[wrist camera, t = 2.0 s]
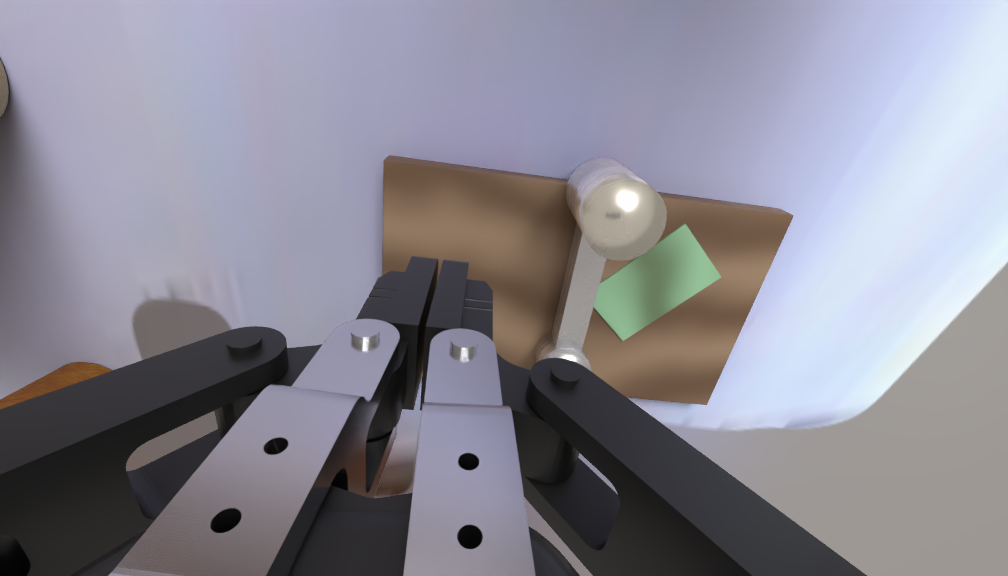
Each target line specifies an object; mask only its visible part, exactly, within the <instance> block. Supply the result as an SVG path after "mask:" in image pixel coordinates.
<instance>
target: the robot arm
mask: <svg viewBox="0 0 1008 576" xmlns="http://www.w3.org/2000/svg"><path fill="white" fill-rule="evenodd" d="M438 265H439V260H438V259H434V258H426V257H417V256H412V257H411V259H410V261H409V264H408V266H407V268H406V271H405V272H399V271H389V272H388V273H386V274H384V275H383V276H381V277H379V278H378V280H377V282H376V284H375V285H374V287H373V290H372V291H371V293H370V295H369V298H367V300H366V302H365V304H364V305H363V307H362V309H361V311H360V313H359V315H358V316H357V318H356V320H353V321H349V322H346V323H344V324H342V325H340V326H338V327H337V328H335V329H334V330H333V331H332V333H331V334H330V335H329V337H328V338H327V339H326V341H325V342H324V343H323V344H321V345H316V346H307V347H296V348H287V344H286V338H285V336H284V335H283V334H282V333H281V332H279V331H277V330H275V329H272V328H267V327H243V328H238V329H233V330H230V331H227V332H224V333H221V334H218V335H215V336H212V337H209V338H207V339H203V340H201V341H198V342H195V343H192V344H189V345H186V346H183V347H180V348H178V349H174V350H171V351H169V352H166V353H163V354H160V355H157V356H154V357H151V358H148V359H145V360H142V361H139V362H137V363H134V364H131V365H128V366H125V367H122V368H119V369H116V370H113V371H110V372H107V373H104V374H102V375H99V376H96V377H93V378H90V379H87V380H84V381H81V382H78V383H75V384H72V385H70V386H67V387H64V388H61V389H58V390H55V391H52V392H49V393H46V394H43V395H40V396H38V397H35V398H32V399H29V400H26V401H23V402H20V403H17V404H14V405H11V406H8V407H6V408H3V409H0V576H579V574H578V573H577V572H576V571H575V569H574V568H573V567H572V566H571V564H570V563H569V562H568V561H567V559H565V557H564V556H563V555H562V554H561V552H560V551H559V550H557V548H555V547H554V546H553V545H552V544H551V543H550V542H549V541H548V540H547V539H546V538H544V537H543V536H542V535H541V534H539V533H538V532H537V531H535V530H534V529H532V528H530V527H529V526H528V520H527V513H526V506H525V500H524V497H525V498H526V499H527V500H528V501H529V503H530V504H531V505H532V506H533V507H534V508H535V509H536V511H537V512H538V513H539V514H540V515H541V516H542V518H543V519H544V520H545V521H546V522H547V523H548V524H549V526H550V527H551V528H552V529H553V530H554V531H555V533H556V534H557V535H558V536H559V537H560V538H561V539H562V541H563V542H564V543H565V544H566V545H567V546H568V547H569V549H570V550H571V551H572V552H573V553H574V554H575V555H576V557H577V558H578V559H579V560H580V561H581V562H582V563H583V565H584V566H585V567H586V568H587V569H588V570H589V571H590V573H591V574H592V575H593V576H867V575H865V574H864V573H862V572H861V571H860V570H859V569H857V568H856V567H855V566H853V565H852V564H850V563H849V562H848V561H846V560H845V559H844V558H842V557H841V556H840V555H838V554H837V553H836V552H834V551H833V550H832V549H830V548H829V547H827V546H826V545H825V544H823V543H822V542H821V541H819V540H818V539H817V538H815V537H814V536H813V535H811V534H810V533H809V532H807V531H806V530H805V529H803V528H802V527H800V526H799V525H798V524H796V523H795V522H794V521H792V520H791V519H790V518H788V517H787V516H786V515H784V514H783V513H782V512H780V511H779V510H778V509H776V508H775V507H774V506H772V505H771V504H769V503H768V502H767V501H765V500H764V499H762V498H761V497H760V496H759V495H757V494H756V493H755V492H753V491H752V490H750V489H749V488H748V487H746V486H745V485H744V484H742V483H741V482H740V481H738V480H737V479H736V478H734V477H733V476H732V475H730V474H729V473H728V472H726V471H725V470H724V469H722V468H721V467H719V466H718V465H717V464H715V463H714V462H713V461H711V460H710V459H709V458H707V457H706V456H705V455H703V454H702V453H701V452H699V451H698V450H696V449H695V448H694V447H692V446H691V445H690V444H688V443H687V442H686V441H684V440H683V439H682V438H680V437H679V436H677V435H676V434H675V433H674V432H672V431H671V430H670V429H668V428H667V427H665V426H664V425H663V424H661V423H660V422H659V421H657V420H656V419H655V418H653V417H652V416H651V415H649V414H648V413H647V412H645V411H644V410H643V409H641V408H640V407H638V406H637V405H636V404H634V403H633V402H632V401H630V400H629V399H628V398H626V397H625V396H624V395H622V394H621V393H620V392H618V391H617V390H616V389H614V388H613V387H611V386H610V385H609V384H607V383H606V382H605V381H603V380H602V379H601V378H599V377H598V376H597V375H595V374H594V373H593V372H591V371H590V370H589V369H587V368H586V367H584V366H583V365H581V364H579V363H577V362H574V361H571V360H568V359H563V358H547V359H543V360H540V361H538V362H537V363H535V364H534V365H533V366H532V368H531V370H528V369H525V368H522V367H519V366H516V365H513V364H511V363H509V362H508V361H506V360H504V359H503V358H502V357H501V356H500V355H499V354H498V353H497V352H496V347H495V344H494V343H493V290H492V289H491V288H490V286H489V285H488V284H487V283H486V281H478V280H469V279H467V276H468V267H469V262H460V261H452V260H443V263H442V266H441V270H440V274H439V278H438ZM437 279H438V282H437ZM422 371H423V376H422ZM421 376H422V391H421V406H420V410H422V415H421V424H420V433H419V441H418V450H417V459H416V468H415V477H414V486H413V493H410V494H403V495H396V496H390V497H383V498H374V496H375V494H376V491H377V488H378V485H379V482H380V480H381V477H382V474H383V471H384V468H385V466H386V463H387V460H388V457H389V454H390V452H391V449H392V446H393V443H394V440H395V438H396V430H397V423H398V421H399V419H400V415H401V411H402V409H409V410H414V405H415V401H416V397H417V393H418V388H419V384H420V380H421ZM212 411H215V415H216V420H217V424H218V430H216V431H213V432H211V433H209V434H207V435H205V436H203V437H202V438H199V439H197V440H195V441H194V442H191V443H189V444H187V445H185V446H183V447H181V448H179V449H177V450H175V451H173V452H171V453H169V454H167V455H165V456H163V457H161V458H159V459H157V460H155V461H153V462H151V463H149V464H147V465H145V466H143V467H141V468H139V469H136V470H133V471H127V472H126V463H127V460H128V458H129V457H130V455H131V454H132V453H133V452H134V451H135V450H136V449H137V448H138V447H139V446H141V445H142V444H144V443H145V442H147V441H149V440H151V439H153V438H155V437H158V436H160V435H162V434H164V433H166V432H168V431H171V430H173V429H175V428H177V427H179V426H181V425H183V424H186V423H188V422H190V421H192V420H194V419H197V418H199V417H201V416H203V415H205V414H207V413H210V412H212ZM579 453H580V454H582V455H583V456H584V457H585V458H586V459H587V460H588V461H589V462H590V463H592V465H593V466H595V467H596V468H597V469H598V470H599V471H600V472H601V473H602V474H603V475H604V476H605V477H606V478H607V479H609V481H610V482H611V483H612V484H613V486H614V487H615V489H616V491H617V493H618V494H616V493H615V492H614V491H613V490H612V489H611V488H610V487H609V486H608V485H607V484H606V483H605V482H603V480H601V479H600V478H599V477H598V476H597V475H596V474H595V473H594V472H593V471H592V470H591V469H590V468H589V467H588V466H587V465H586V464H585V463H583V462H582V461H581V460H580V459H579V458H578V456H579Z"/></svg>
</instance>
